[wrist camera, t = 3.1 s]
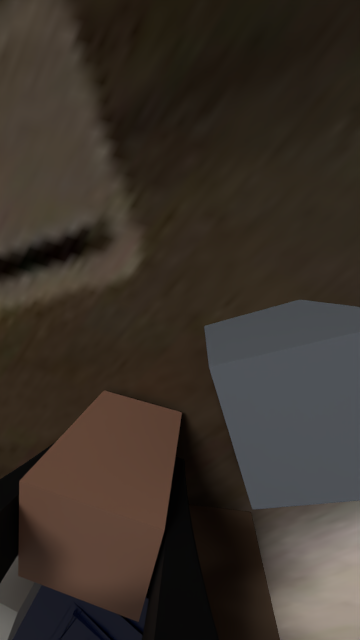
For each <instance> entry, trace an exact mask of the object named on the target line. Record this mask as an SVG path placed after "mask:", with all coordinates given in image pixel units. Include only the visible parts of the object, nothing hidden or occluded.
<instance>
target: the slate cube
mask: <svg viewBox="0 0 360 640" xmlns="http://www.w3.org/2000/svg"><path fill="white" fill-rule="evenodd" d="M204 327H205V336H206V345H207V353H208V362H209V368H210V372H211V375H212V378H213V382H214V385H215V388H216V391H217V395H218V398H219V401H220V405H221V408H222V411H223V414H224V418H225V421H226V424H227V428H228V431H229V434H230V437H231V441H232V444H233V447H234V451H235V454H236V457H237V460H238V464H239V467H240V470H241V474H242V477H243V480H244V483H245V487H246V490H247V493H248V497H249V500H250V503H251V506H252V509H264V508H276V507H288V506H299V505H311V504H323V503H335V502H346V501H358V500H360V307H355V306H347V305H339V304H331V303H323V302H315V301H307V300H297V301H293V302H289V303H286V304H282V305H279V306H275V307H271V308H268V309H264V310H261V311H257V312H253V313H250V314H246V315H243V316H239V317H235V318H232V319H228V320H225V321H221V322H217V323H214V324H210V325H206V326H204Z"/></svg>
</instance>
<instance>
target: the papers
mask: <svg viewBox="0 0 360 640" xmlns="http://www.w3.org/2000/svg"><path fill="white" fill-rule="evenodd" d="M148 600H149V599H148V598H145V601H144V605H143V608H142V612H141V615H140V619H139V622H137V621H134V620H132V619H129V618H127V617H124V616H121V615H119V614H116V613H114V612H111V611H108V610H106V609H103V608H101V607H98V606H95V605H93V604H90V603H88V602H85V601H82V600H80V599H77V598H75V597H72V596H69V595H67V594H64V593H62V592H59V591H56V590H54V589H51V588H49V587H46V586H43V585H41V587H40V589H39V591H38V593H37V595H36V597H35V598H34V600H33V602H32V604H31V606H30V608H29V610H28V611H27V613H26V615H25V617H24V619H23V621H22V623H21V624H20V626H19V628H18V630H17V632H16V634H15V636H14V637H13V639H12V640H142V635H143V630H144V624H145V618H146V612H147V607H148Z"/></svg>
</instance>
